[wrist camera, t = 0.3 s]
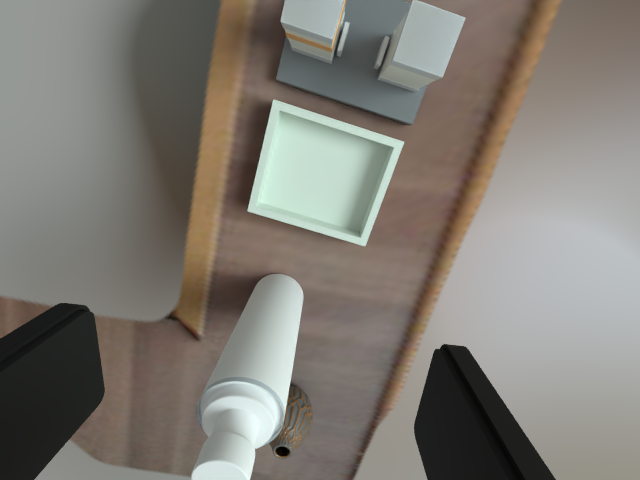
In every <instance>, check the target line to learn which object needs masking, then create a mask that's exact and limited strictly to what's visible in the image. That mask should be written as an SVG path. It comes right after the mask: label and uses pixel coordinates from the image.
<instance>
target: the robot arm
mask: <svg viewBox="0 0 640 480" xmlns="http://www.w3.org/2000/svg"><path fill="white" fill-rule="evenodd" d="M104 392H105V388H104V381H103V374H102V367H101V360H100V352H99V345H98V338H97V331H96V324H95V317H94V314H93V313H92V312H90V310H89V308H88V307H87V306H85V305H78V304H68V303H60V304H57V305H55V306H54V307H52V308H50V309H49V310H47V311H45V312H44V313H42V314H40V315H39V316H37V317H35V318H34V319H32V320H31V321H29V322H27V323H26V324H24V325H22V326H21V327H19V328H17V329H16V330H14V331H12V332H11V333H9V334H7V335H6V336H4V337H2V338H1V339H0V480H34V479H35V478H36V477H37V476H38V474H39V473H40V472H41V471H42V470H43V469H44V468H45V467H46V465H47V464H48V463H49V462H50V461H51V460H52V458H53V457H54V456H55V455H56V454H57V453H58V452H59V450H60V449H61V448H62V447H63V446H64V445H65V443H66V442H67V441H68V440H69V439H70V438H71V437H72V435H73V434H74V433H75V432H76V431H77V430H78V428H79V427H80V426H81V425H82V424H83V423H84V422H85V420H86V419H87V418H88V417H89V416H90V415H91V413H92V412H93V411H94V410H95V409H96V408H97V407H98V405H99V404H100V403H101V401H102V399H103V396H104ZM414 433H415V438H416V442H417V445H418V448H419V452H420V455H421V459H422V462H423V466H424V469H425V472H426V476H427V479H428V480H556V479H555V478H554V476H553V475H552V473H551V472H550V470H549V469H548V467H547V466H546V465H545V463H544V461H543V460H542V459H541V457H540V456H539V454H538V453H537V451H536V450H535V448H534V447H533V445H532V444H531V442H530V441H529V439H528V438H527V436H526V435H525V433H524V432H523V430H522V429H521V427H520V426H519V424H518V423H517V421H516V420H515V418H514V417H513V415H512V414H511V413H510V411H509V409H508V408H507V407H506V405H505V403H504V402H503V400H502V399H501V398H500V396H499V395H498V393H497V392H496V390H495V389H494V387H493V386H492V384H491V383H490V381H489V380H488V379H487V377H486V375H485V374H484V372H483V371H482V369H481V368H480V366H479V365H478V363H477V362H476V360H475V359H474V358H473V356H472V354H471V353H470V351H469V350H468V349H467V348H466V347H464V346H456V345H447V344H444V345H442V346H441V348H440V349H435V351H434V353H433V357H432V361H431V364H430V368H429V371H428V376H427V379H426V383H425V386H424V390H423V394H422V397H421V401H420V405H419V409H418V412H417V416H416V420H415V424H414Z"/></svg>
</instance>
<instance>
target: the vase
mask: <svg viewBox="0 0 640 480" xmlns="http://www.w3.org/2000/svg"><path fill="white" fill-rule="evenodd" d="M311 423H312V407H311V403H310V400H309V398H308V396H307V395H306V394H305V393H304V391H302V390H301V389H299V388H298V387H295V386H290V387H289V393H288V399H287V405H286V412H285V418H284V424H283V423H282V424H283V427H282V430H281V432H280V433H279V434H278V436H277V437H276V438H275V439H274V440H272V441H271V442H269V444H270V445H271V447H272V451H273V454H274V455H275V456H276V457H277V458H280V459H286V458H288V457H290V456H291V455H292V453H293V451H294V450H295V449H296V448H297V447H298V446H299V445H300V444H302V443H303V441H304V440H305V439H306V437H307V435H308V433H309V430H310V427H311ZM281 426H282V425H281ZM280 428H281V427H280ZM280 428H279V429H280ZM277 432H278V431H277ZM277 432H276V433H277ZM272 436H273V435H272ZM272 436H271V437H272Z"/></svg>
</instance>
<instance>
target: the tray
mask: <svg viewBox="0 0 640 480" xmlns="http://www.w3.org/2000/svg"><path fill="white" fill-rule="evenodd" d="M403 144H404V142H403V141H400V140H396V139H393V138H390V137H387V136H384V135H381V134H378V133H375V132H372V131H369V130H366V129H363V128H360V127H357V126H354V125H351V124H347V123H344V122H341V121H338V120H335V119H332V118H329V117H326V116H323V115H320V114H317V113H314V112H311V111H308V110H305V109H301V108H298V107H295V106H292V105H289V104H286V103H283V102H280V101H277V100H274V99H273V103H272V107H271V112H270V116H269V120H268V125H267V129H266V133H265V137H264V142H263V146H262V150H261V155H260V159H259V163H258V168H257V172H256V176H255V180H254V185H253V189H252V193H251V198H250V202H249V206H248V212H252V213H255V214H258V215H262V216H265V217H268V218H272V219H275V220H278V221H282V222H285V223H288V224H292V225H295V226H298V227H302V228H305V229H309V230H312V231H315V232H319V233H322V234H325V235H329V236H332V237H335V238H339V239H342V240H345V241H349V242H352V243H355V244H359V245H362V246H366V243H367V240H368V238H369V235H370V232H371V230H372V227H373V224H374V222H375V219H376V216H377V214H378V211H379V208H380V206H381V203H382V200H383V198H384V195H385V192H386V190H387V187H388V184H389V182H390V179H391V176H392V174H393V171H394V168H395V166H396V163H397V160H398V157H399V155H400V152H401V149H402V147H403Z"/></svg>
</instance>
